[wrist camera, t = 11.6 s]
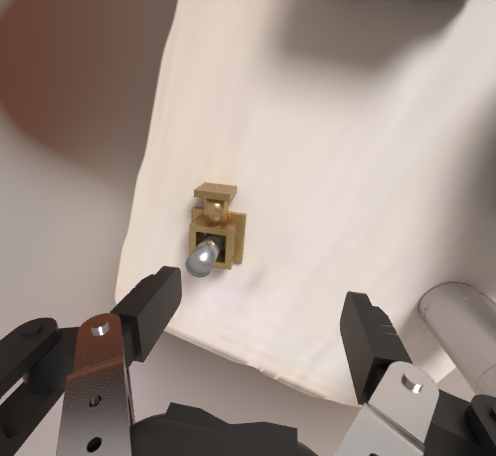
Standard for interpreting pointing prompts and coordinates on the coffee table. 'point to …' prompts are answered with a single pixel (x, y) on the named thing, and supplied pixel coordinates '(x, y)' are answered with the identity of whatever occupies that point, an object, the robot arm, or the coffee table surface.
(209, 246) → the silver round-ended rod
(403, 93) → the coffee table surface
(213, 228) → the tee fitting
